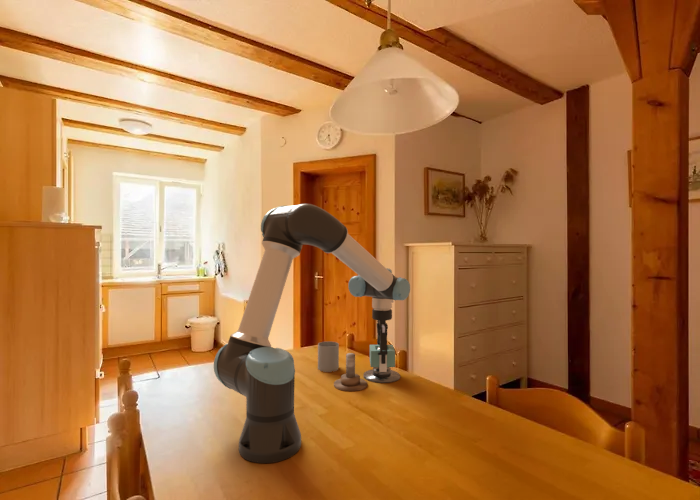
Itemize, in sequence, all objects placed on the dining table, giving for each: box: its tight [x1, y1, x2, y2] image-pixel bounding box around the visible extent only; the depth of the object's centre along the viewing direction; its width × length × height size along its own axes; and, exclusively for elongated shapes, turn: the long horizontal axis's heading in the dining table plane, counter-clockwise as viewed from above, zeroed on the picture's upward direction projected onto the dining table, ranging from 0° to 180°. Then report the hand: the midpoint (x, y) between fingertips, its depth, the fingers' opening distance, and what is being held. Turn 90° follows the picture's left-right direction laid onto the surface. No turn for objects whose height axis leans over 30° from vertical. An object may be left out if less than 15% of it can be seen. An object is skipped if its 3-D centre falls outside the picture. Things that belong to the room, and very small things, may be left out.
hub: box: [363, 347, 401, 384], centre depth 146 cm, size 14×14×11 cm
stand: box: [333, 352, 368, 392], centre depth 137 cm, size 12×12×11 cm
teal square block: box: [369, 344, 396, 368], centre depth 146 cm, size 9×9×6 cm
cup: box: [317, 341, 340, 373], centre depth 155 cm, size 8×8×10 cm
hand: (381, 367), depth 146 cm, fingers closed on teal square block, 9 cm apart
